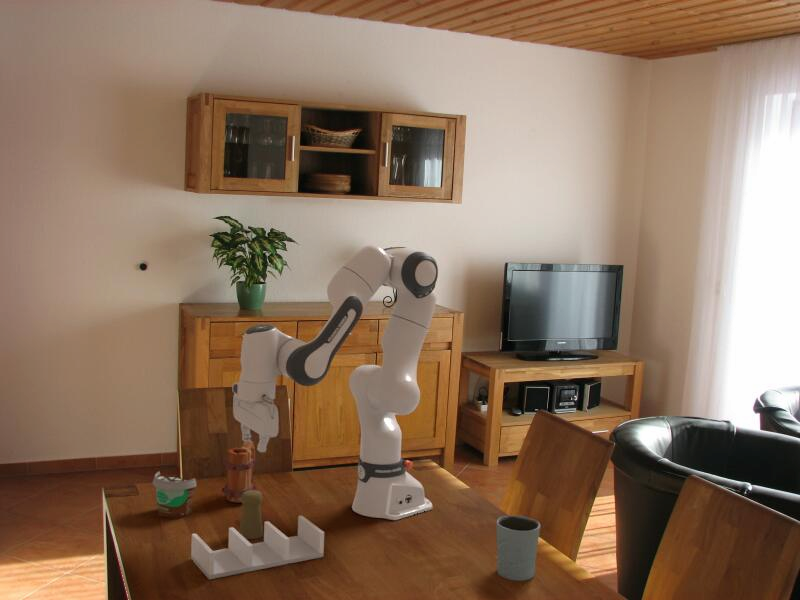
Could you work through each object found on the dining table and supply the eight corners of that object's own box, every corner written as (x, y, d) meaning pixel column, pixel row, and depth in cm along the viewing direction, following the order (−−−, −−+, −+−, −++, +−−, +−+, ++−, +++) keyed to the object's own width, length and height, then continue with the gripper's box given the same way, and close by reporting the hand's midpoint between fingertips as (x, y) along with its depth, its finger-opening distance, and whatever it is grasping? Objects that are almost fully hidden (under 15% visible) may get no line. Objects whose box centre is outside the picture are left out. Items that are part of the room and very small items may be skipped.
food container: (142, 514, 228) (142, 477, 226) (157, 507, 233) (157, 471, 232) (181, 523, 223) (182, 485, 222) (196, 515, 229) (196, 478, 228)
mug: (245, 507, 236) (247, 453, 234) (217, 504, 238) (218, 450, 236) (264, 490, 250) (266, 439, 249) (237, 487, 252) (239, 436, 250)
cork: (267, 532, 219) (269, 490, 218) (254, 540, 214) (255, 497, 213) (247, 528, 222) (248, 486, 221) (233, 535, 217) (234, 492, 215)
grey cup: (507, 584, 196) (510, 533, 195) (485, 566, 206) (488, 517, 204) (545, 578, 200) (549, 528, 199) (522, 561, 210) (525, 512, 208)
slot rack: (301, 538, 217) (302, 515, 216) (323, 556, 207) (324, 532, 206) (191, 559, 202) (191, 534, 201) (209, 579, 192) (209, 553, 191)
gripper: (286, 399, 207) (283, 456, 209) (253, 382, 224) (250, 434, 226) (262, 401, 204) (258, 459, 205) (229, 383, 221) (226, 436, 222)
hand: (253, 446), depth 216 cm, fingers open, 8 cm apart
